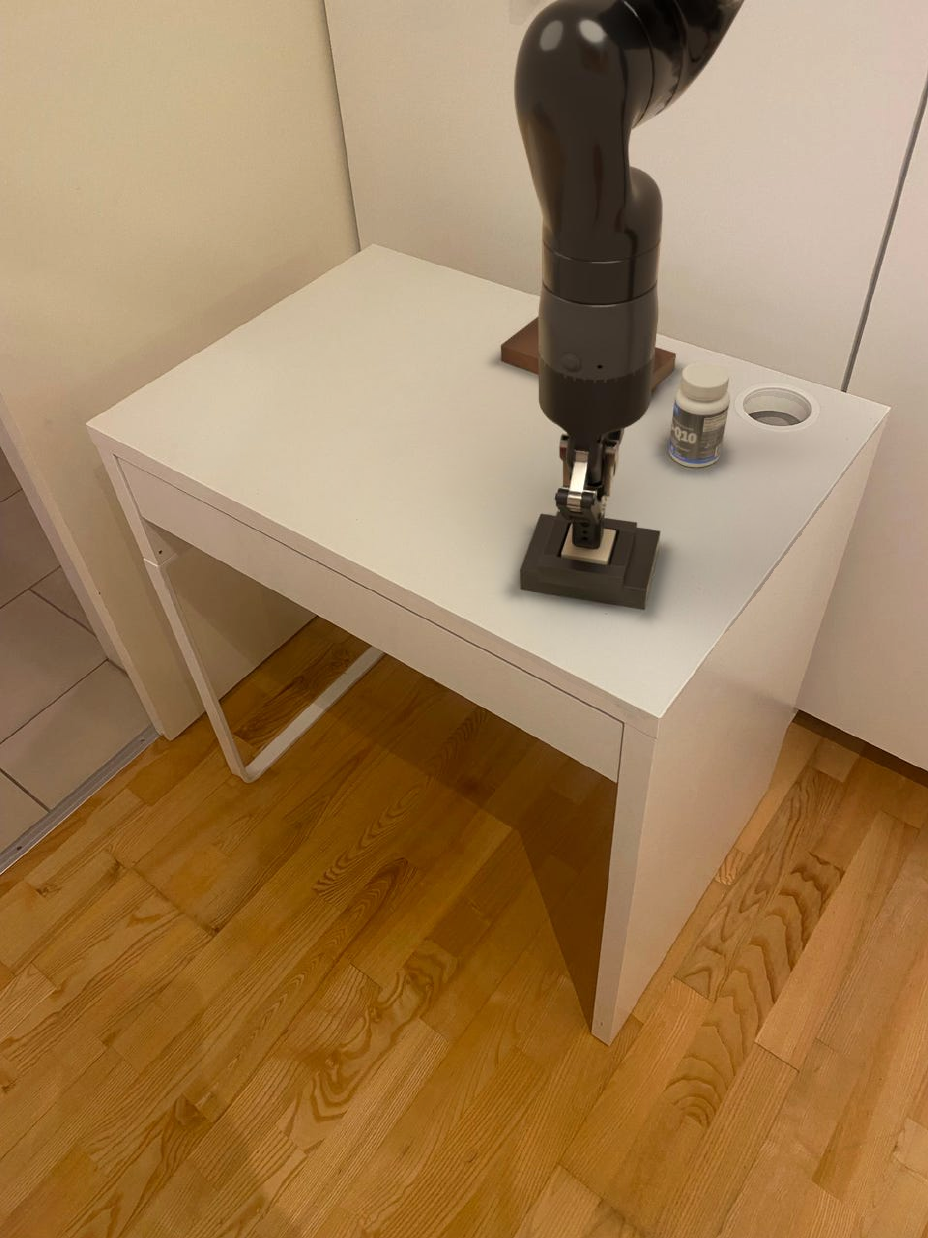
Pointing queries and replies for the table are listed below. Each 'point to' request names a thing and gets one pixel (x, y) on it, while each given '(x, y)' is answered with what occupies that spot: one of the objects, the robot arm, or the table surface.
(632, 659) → the table surface
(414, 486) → the table surface
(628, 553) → the key box
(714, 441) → the pill bottle
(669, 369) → the brown flat piece
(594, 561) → the near key
